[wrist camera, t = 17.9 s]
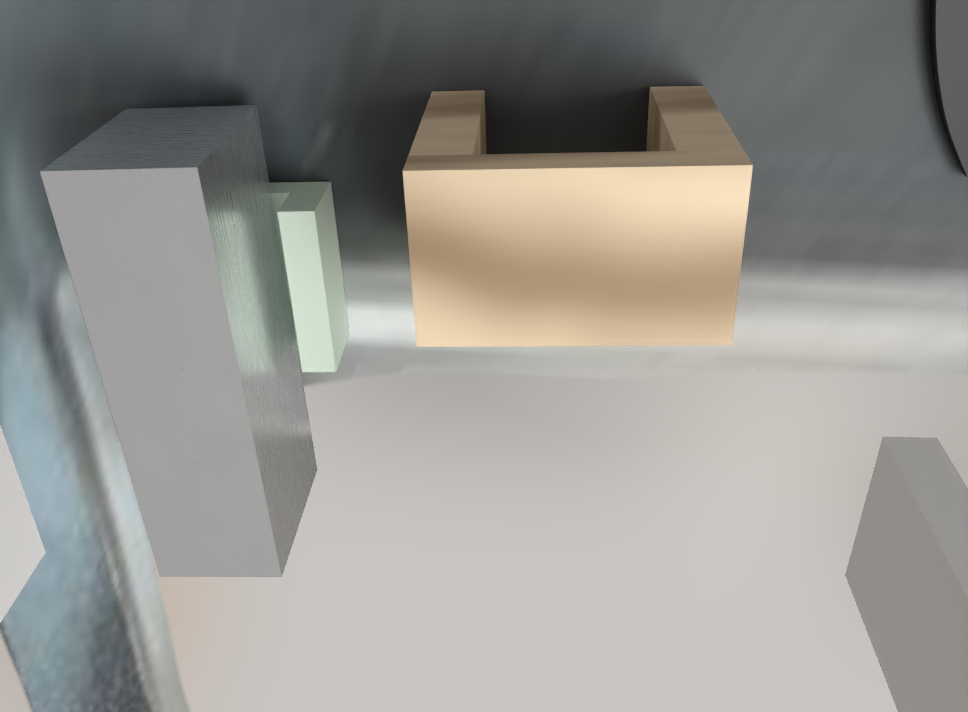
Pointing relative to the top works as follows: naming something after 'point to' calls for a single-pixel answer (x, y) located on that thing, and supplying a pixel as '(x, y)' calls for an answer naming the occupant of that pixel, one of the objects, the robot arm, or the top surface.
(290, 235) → the cradle
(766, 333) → the top surface
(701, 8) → the top surface
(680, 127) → the block
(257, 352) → the steel bar
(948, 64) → the fan shaped piece
